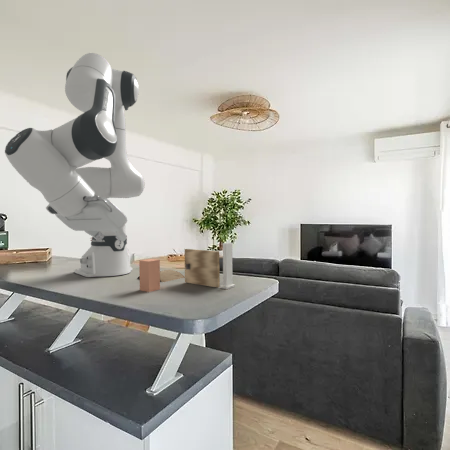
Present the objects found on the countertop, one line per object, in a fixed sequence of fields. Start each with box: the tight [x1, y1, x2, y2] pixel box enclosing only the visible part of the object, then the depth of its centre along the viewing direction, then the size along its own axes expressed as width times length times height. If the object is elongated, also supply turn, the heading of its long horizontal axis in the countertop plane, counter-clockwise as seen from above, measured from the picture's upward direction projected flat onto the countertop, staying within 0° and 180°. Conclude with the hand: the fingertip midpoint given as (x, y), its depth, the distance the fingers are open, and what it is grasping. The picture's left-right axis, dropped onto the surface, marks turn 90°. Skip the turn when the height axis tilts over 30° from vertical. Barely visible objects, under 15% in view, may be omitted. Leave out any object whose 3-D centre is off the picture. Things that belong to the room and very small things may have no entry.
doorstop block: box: [138, 258, 161, 293], centre depth 89 cm, size 4×4×8 cm
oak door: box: [184, 248, 221, 288], centre depth 94 cm, size 13×2×10 cm, turn 53°
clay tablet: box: [137, 269, 185, 283], centre depth 107 cm, size 14×10×3 cm
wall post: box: [220, 242, 236, 290], centre depth 91 cm, size 2×4×13 cm, turn 143°
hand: (112, 239), depth 79 cm, fingers open, 8 cm apart
